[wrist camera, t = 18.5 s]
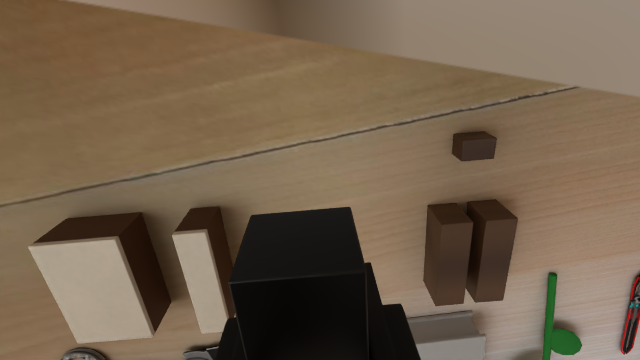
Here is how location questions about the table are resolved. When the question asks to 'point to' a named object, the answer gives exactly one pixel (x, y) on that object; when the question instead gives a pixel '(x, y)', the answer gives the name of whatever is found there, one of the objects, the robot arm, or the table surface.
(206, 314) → the cake slice
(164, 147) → the table surface
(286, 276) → the cake knife
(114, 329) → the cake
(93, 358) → the knife
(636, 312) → the pen
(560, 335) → the decorative flower
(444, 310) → the table surface
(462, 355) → the book
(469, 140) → the brown twin bars
